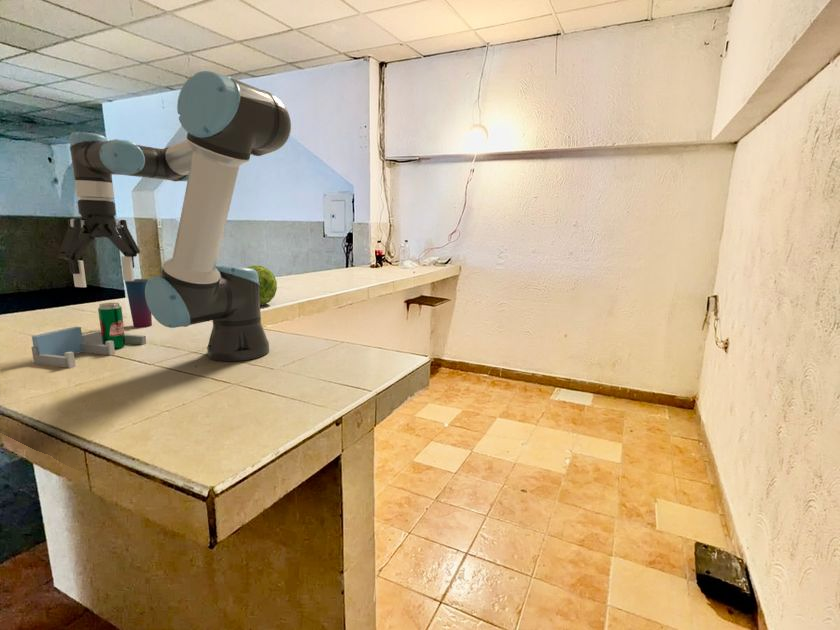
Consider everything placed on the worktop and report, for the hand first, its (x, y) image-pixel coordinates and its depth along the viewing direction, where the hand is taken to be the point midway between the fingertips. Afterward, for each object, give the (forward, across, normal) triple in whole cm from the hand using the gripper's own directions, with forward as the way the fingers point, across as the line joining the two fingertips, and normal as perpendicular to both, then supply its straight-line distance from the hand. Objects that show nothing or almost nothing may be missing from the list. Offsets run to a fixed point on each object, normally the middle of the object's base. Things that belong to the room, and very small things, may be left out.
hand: (106, 283), depth 111 cm
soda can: (+18, 0, 0) cm, 18 cm away
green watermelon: (+18, -69, -4) cm, 71 cm away
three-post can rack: (+17, +5, 0) cm, 18 cm away
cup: (+18, -22, -13) cm, 31 cm away
